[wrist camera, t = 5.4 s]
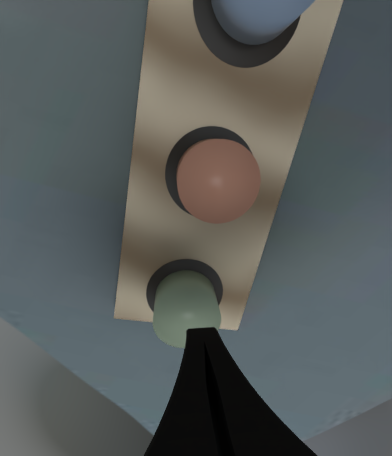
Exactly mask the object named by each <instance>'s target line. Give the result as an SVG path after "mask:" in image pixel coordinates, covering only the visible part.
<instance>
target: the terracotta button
mask: <svg viewBox="0 0 392 456" xmlns="http://www.w3.org/2000/svg"><path fill="white" fill-rule="evenodd" d="M176 179H177V188H178V194H179V197H180V200H181V202H182V204H183V205H184V207H185V208H186V209H187V211H188V212H189V213H190V214H191V215H193V216H194V217H196V218H197V219H199V220H201V221H204V222H208V223H214V224H219V223H226V222H230V221H233V220H235V219H237V218H239V217H240V216H242V215H243V214H244V213H246V212H247V211H248V210H249V208H250V207H251V206H252V205H253V203H254V202H255V200H256V198H257V195H258V193H259V189H260V182H261V175H260V169H259V166H258V163H257V161H256V159H255V158H254V156H253V155H252V153H251V152H250V151H249V150H248V149H247V148H246V147H244V146H243V145H241V144H239V143H237V142H235V141H232V140H227V139H205V140H201V141H199V142H197V143H195V144H193V145H192V146H190V147H189V148H188V149H187V150H186V151H185V152H184V154H183V155H182V157H181V159H180V161H179V163H178V167H177V173H176Z"/></svg>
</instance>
